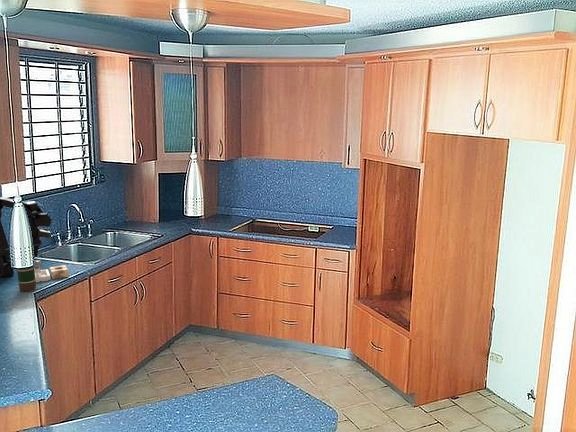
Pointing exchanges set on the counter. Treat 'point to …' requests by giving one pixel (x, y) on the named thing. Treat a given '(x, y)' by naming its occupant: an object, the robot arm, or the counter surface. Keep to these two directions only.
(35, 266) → the steel pin
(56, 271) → the hitch block
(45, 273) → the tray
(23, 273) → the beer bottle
